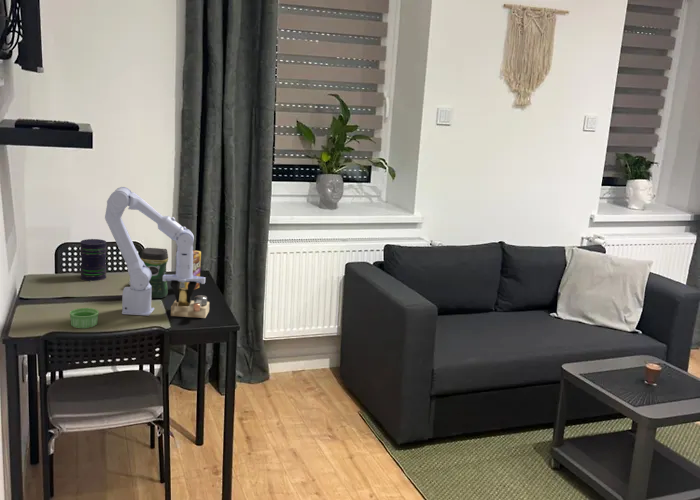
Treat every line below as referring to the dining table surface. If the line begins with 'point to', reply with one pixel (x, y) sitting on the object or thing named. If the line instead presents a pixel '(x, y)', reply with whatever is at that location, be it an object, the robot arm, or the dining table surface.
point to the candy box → (194, 269)
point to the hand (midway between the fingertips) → (183, 301)
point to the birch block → (189, 310)
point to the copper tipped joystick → (199, 302)
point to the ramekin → (84, 317)
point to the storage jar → (93, 259)
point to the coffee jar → (156, 270)
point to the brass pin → (183, 297)
